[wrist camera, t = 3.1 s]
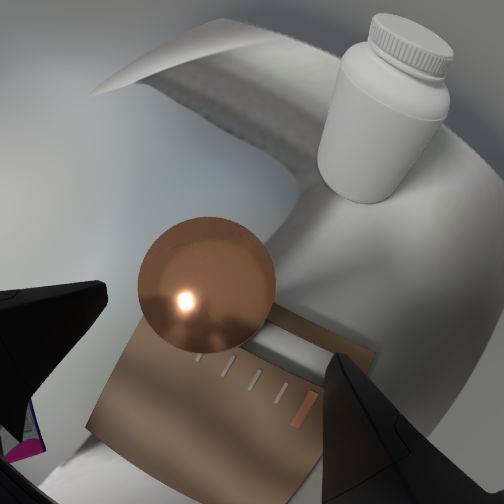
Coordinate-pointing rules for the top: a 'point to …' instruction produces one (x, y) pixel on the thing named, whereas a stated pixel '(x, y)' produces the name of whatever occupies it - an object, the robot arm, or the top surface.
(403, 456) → the robot arm
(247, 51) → the top surface
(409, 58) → the pill bottle
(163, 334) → the capped cylinder
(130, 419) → the brown wooden flat board
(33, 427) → the supplement box
